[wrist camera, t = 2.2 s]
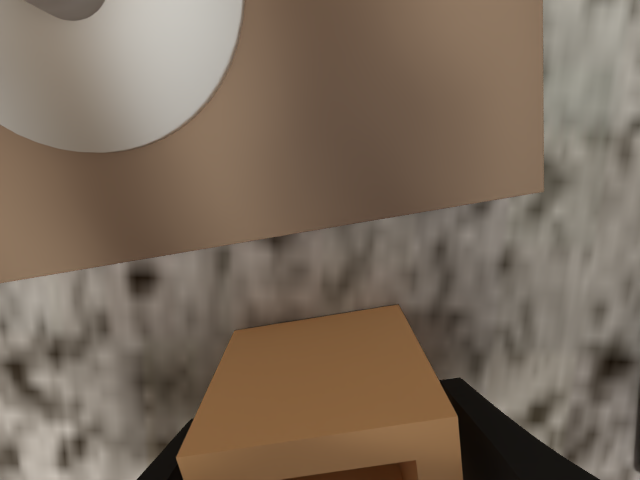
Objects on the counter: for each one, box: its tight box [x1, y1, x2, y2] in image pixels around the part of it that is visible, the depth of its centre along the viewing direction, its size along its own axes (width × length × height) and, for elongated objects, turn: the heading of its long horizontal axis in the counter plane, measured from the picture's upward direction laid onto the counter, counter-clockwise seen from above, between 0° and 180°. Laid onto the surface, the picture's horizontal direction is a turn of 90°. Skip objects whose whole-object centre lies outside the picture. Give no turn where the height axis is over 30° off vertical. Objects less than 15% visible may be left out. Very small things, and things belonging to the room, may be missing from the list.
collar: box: [176, 305, 463, 480], centre depth 10 cm, size 6×6×5 cm
